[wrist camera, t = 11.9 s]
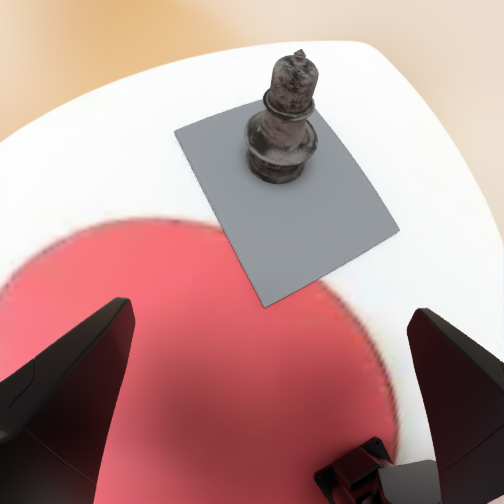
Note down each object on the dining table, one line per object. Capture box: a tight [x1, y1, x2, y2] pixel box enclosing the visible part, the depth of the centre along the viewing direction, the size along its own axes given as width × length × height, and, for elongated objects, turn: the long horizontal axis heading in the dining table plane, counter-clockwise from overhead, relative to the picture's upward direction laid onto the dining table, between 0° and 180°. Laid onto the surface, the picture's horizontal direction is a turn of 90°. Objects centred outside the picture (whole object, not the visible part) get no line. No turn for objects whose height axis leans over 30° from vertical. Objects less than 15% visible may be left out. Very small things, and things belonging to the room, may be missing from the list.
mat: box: [174, 99, 400, 308], centre depth 24 cm, size 18×14×1 cm
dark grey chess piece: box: [244, 49, 318, 184], centre depth 19 cm, size 6×6×12 cm
